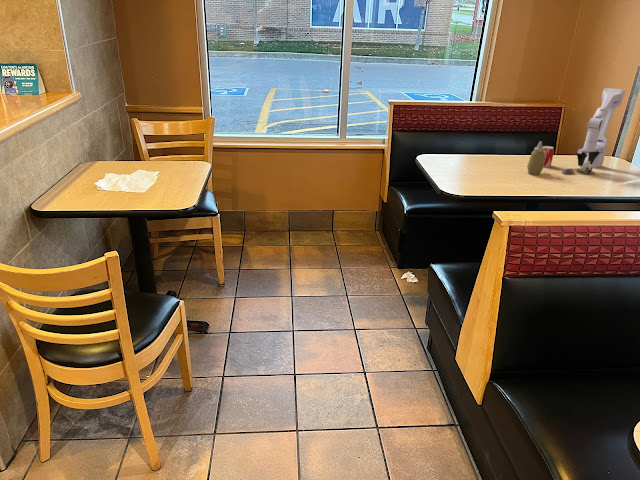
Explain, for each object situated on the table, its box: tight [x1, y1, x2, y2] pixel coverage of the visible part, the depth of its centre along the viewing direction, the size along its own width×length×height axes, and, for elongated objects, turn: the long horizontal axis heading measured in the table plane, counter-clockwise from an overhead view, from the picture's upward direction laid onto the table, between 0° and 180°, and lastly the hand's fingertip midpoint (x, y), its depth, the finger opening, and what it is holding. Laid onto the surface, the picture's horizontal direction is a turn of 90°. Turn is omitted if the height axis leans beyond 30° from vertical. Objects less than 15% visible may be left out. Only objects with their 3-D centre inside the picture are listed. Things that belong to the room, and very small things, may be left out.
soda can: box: [542, 145, 555, 168], centre depth 267 cm, size 7×7×12 cm
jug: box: [578, 160, 592, 172], centre depth 257 cm, size 6×4×6 cm
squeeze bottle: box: [526, 140, 545, 176], centre depth 255 cm, size 8×8×18 cm
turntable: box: [561, 167, 596, 176], centre depth 258 cm, size 20×12×4 cm, turn 107°
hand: (584, 165), depth 258 cm, fingers open, 7 cm apart
